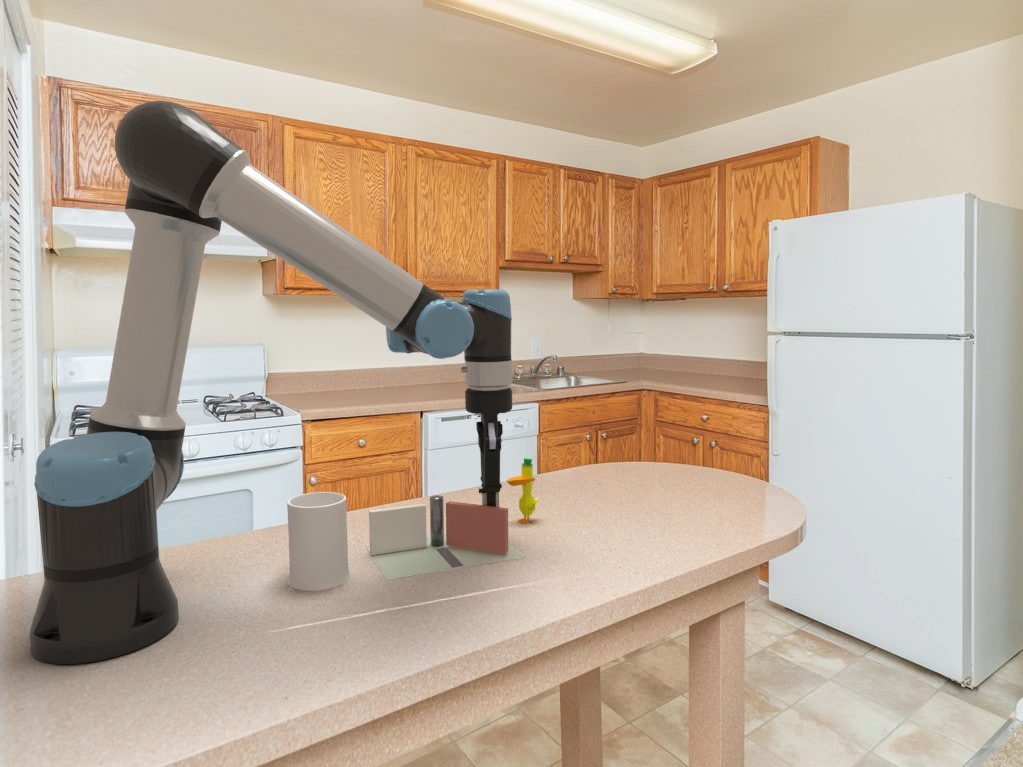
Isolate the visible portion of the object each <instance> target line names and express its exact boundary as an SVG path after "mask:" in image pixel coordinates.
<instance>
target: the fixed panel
mask: <svg viewBox="0 0 1023 767" xmlns="http://www.w3.org/2000/svg"><path fill="white" fill-rule="evenodd" d="M368 522H369V523H368V524H369V526H368V528H369V529H368V531H369V534H368V535H369V546H370V553H369V554H370V556H371V557H372V555H378V554H385V553H392V552H398V551H405V550H412V549H418V548H425V547H427V505H426V504H425V503H418V504H411V505H402V506H395V507H386V508H385V507H384V508H378V509H377V508H376V509H370V510H368Z"/></svg>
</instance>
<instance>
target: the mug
mask: <svg viewBox="0 0 1023 767" xmlns="http://www.w3.org/2000/svg"><path fill="white" fill-rule="evenodd" d="M286 507H287V526H288V527H287V529H288V531H287V532H288V553H289V554H288V557H289V577H288V578H289V579H288V585H289V586H290V587H291V588H293V589H295V590H298V591H299V590H300V591H306V592H307V591H308V592H312V591H315V592H316V591H323V590H330V589H332V588H333V589H334V588H337V587H339V586H341V585H343V584H344V583H346V582H347V581H349V580H350V577H351V572H350V567H349V550H348V548H349V546H348V520H347V518H348V517H347V516H348V514H347V513H348V512H347V511H348V510H347V497H346V495H345V494H343V493H339V492H334V491H316V492H315V491H313V492H309V493H308V492H307V493H303V494H299V495H295V496H293V497H291V498H289V499H288V500H287V506H286Z"/></svg>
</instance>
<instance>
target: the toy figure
mask: <svg viewBox="0 0 1023 767" xmlns="http://www.w3.org/2000/svg"><path fill="white" fill-rule="evenodd" d="M532 462H533V459H532V458H527V457H525V458H523V463H521V470H520V471H521V474H520V475H516V476H512V477H509V478H508V479H506V482H507V484H508V485H510V486H511V487H516V486H521V489H522V495H521V497H520V498H519V499H518V509H519V511H520V512H521V514H522V516H523V518H519V519H518V520H517V522H518V523H520V524H521V525H524V524H529V523H531V520H530V516H532V515H533V514H534V512H535V511H536V504H537V502H538V500H539V499H540V498H539V497H536V498H534V497H533V496H532V490H533V482H535V481H536V478H535V477H534V464H532Z"/></svg>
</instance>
